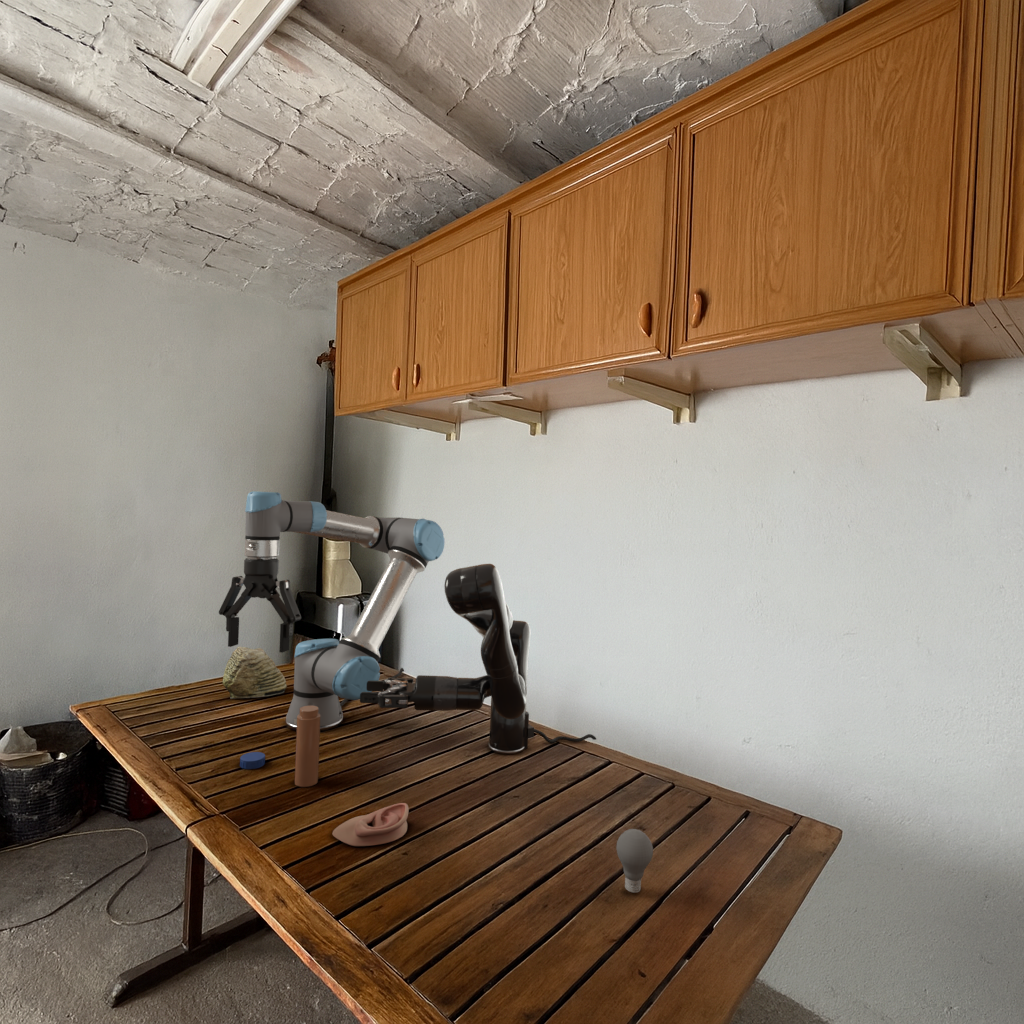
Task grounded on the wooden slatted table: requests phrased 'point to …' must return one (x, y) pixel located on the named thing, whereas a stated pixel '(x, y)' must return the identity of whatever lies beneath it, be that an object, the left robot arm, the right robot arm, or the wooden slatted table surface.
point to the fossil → (252, 674)
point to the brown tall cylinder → (307, 746)
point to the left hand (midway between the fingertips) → (258, 648)
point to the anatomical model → (374, 826)
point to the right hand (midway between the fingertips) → (363, 691)
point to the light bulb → (634, 857)
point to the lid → (252, 760)
